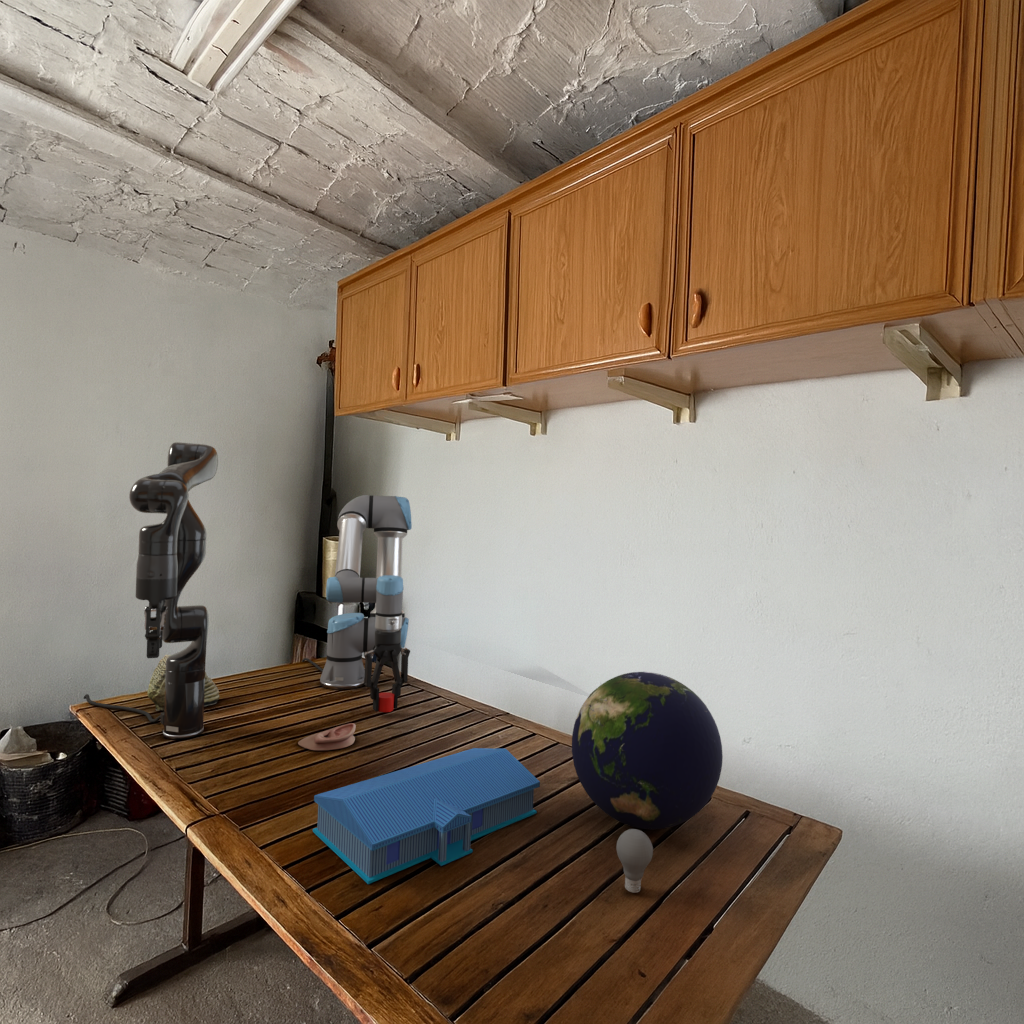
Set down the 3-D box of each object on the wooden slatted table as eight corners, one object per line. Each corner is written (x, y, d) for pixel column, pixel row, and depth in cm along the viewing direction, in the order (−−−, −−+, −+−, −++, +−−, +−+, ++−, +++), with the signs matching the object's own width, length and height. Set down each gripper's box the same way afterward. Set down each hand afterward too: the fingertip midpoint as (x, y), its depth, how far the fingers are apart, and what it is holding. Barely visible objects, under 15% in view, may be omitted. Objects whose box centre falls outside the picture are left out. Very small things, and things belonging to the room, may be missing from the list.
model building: (378, 893, 102) (380, 832, 102) (311, 830, 120) (313, 778, 120) (548, 819, 128) (550, 770, 128) (472, 776, 146) (474, 733, 146)
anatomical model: (291, 731, 158) (315, 716, 169) (291, 747, 158) (314, 731, 169) (341, 738, 155) (361, 722, 167) (340, 754, 155) (360, 737, 167)
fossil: (144, 707, 182) (145, 655, 182) (212, 696, 194) (213, 647, 194) (151, 716, 175) (153, 662, 175) (221, 703, 188) (223, 653, 188)
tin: (389, 713, 181) (389, 698, 181) (373, 711, 183) (373, 696, 182) (396, 707, 186) (397, 693, 186) (380, 705, 188) (381, 691, 187)
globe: (548, 837, 121) (555, 681, 121) (589, 777, 149) (595, 650, 148) (711, 879, 110) (720, 707, 109) (723, 805, 138) (730, 668, 137)
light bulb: (610, 879, 108) (613, 822, 108) (644, 879, 109) (647, 822, 109) (619, 902, 102) (622, 840, 102) (655, 901, 103) (658, 840, 103)
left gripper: (175, 579, 127) (173, 660, 127) (179, 571, 140) (176, 644, 140) (132, 580, 124) (129, 662, 124) (139, 571, 137) (137, 646, 137)
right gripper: (362, 634, 176) (358, 717, 176) (422, 629, 185) (418, 708, 186) (353, 628, 182) (350, 708, 183) (412, 624, 192) (409, 700, 192)
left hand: (154, 652), depth 132 cm, fingers open, 8 cm apart
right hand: (385, 708), depth 184 cm, fingers closed on tin, 5 cm apart
